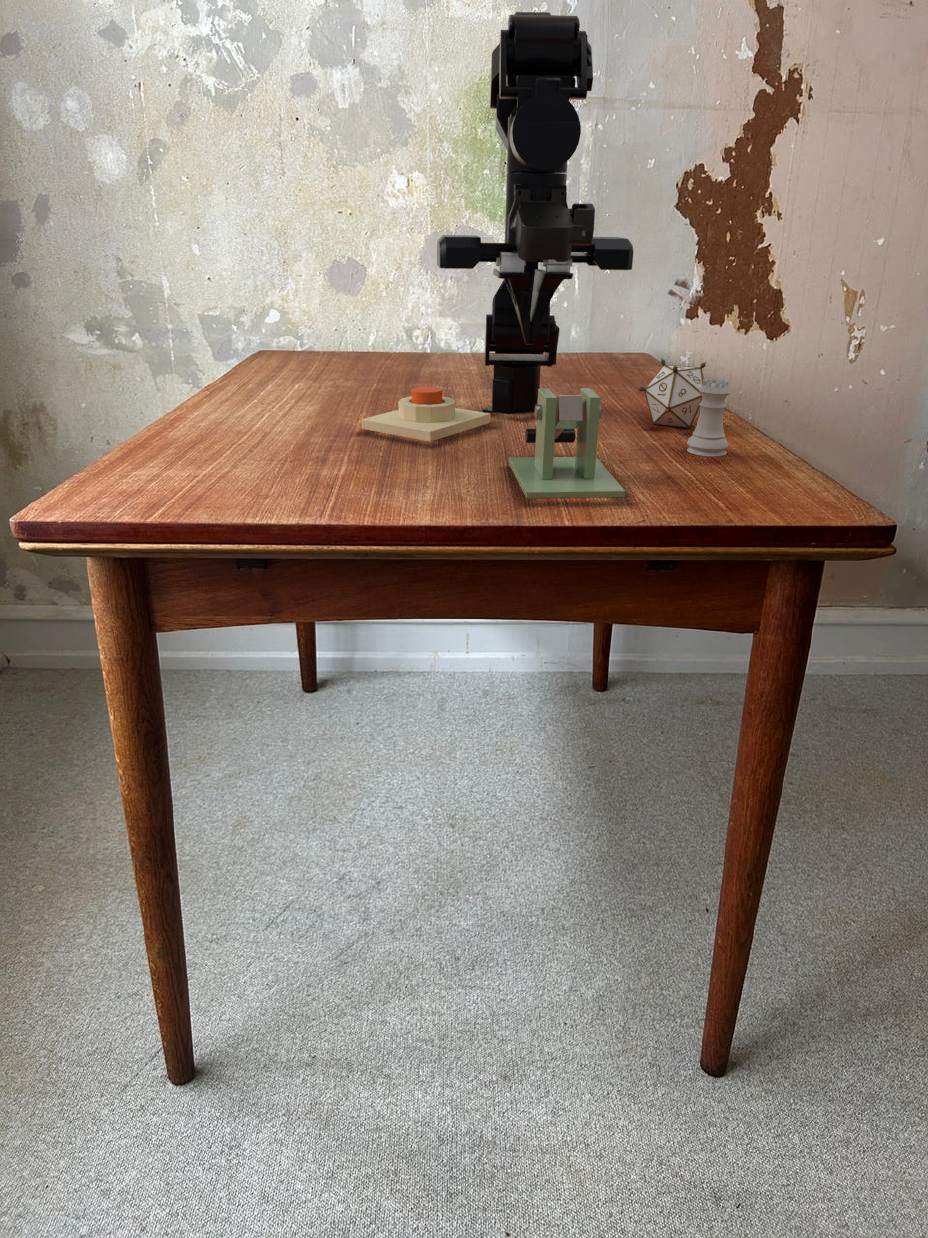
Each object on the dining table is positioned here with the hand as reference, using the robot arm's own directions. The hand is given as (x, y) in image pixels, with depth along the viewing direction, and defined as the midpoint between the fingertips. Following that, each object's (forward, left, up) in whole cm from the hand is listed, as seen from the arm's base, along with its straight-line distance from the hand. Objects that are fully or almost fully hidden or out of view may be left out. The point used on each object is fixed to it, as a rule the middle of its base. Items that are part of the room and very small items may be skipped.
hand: (529, 343), depth 91 cm
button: (-2, -15, -8) cm, 17 cm away
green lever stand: (+8, +9, -12) cm, 16 cm away
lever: (+5, +7, -7) cm, 11 cm away
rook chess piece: (-11, +16, -12) cm, 23 cm away
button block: (-2, -15, -12) cm, 19 cm away
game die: (-21, +8, -12) cm, 26 cm away
